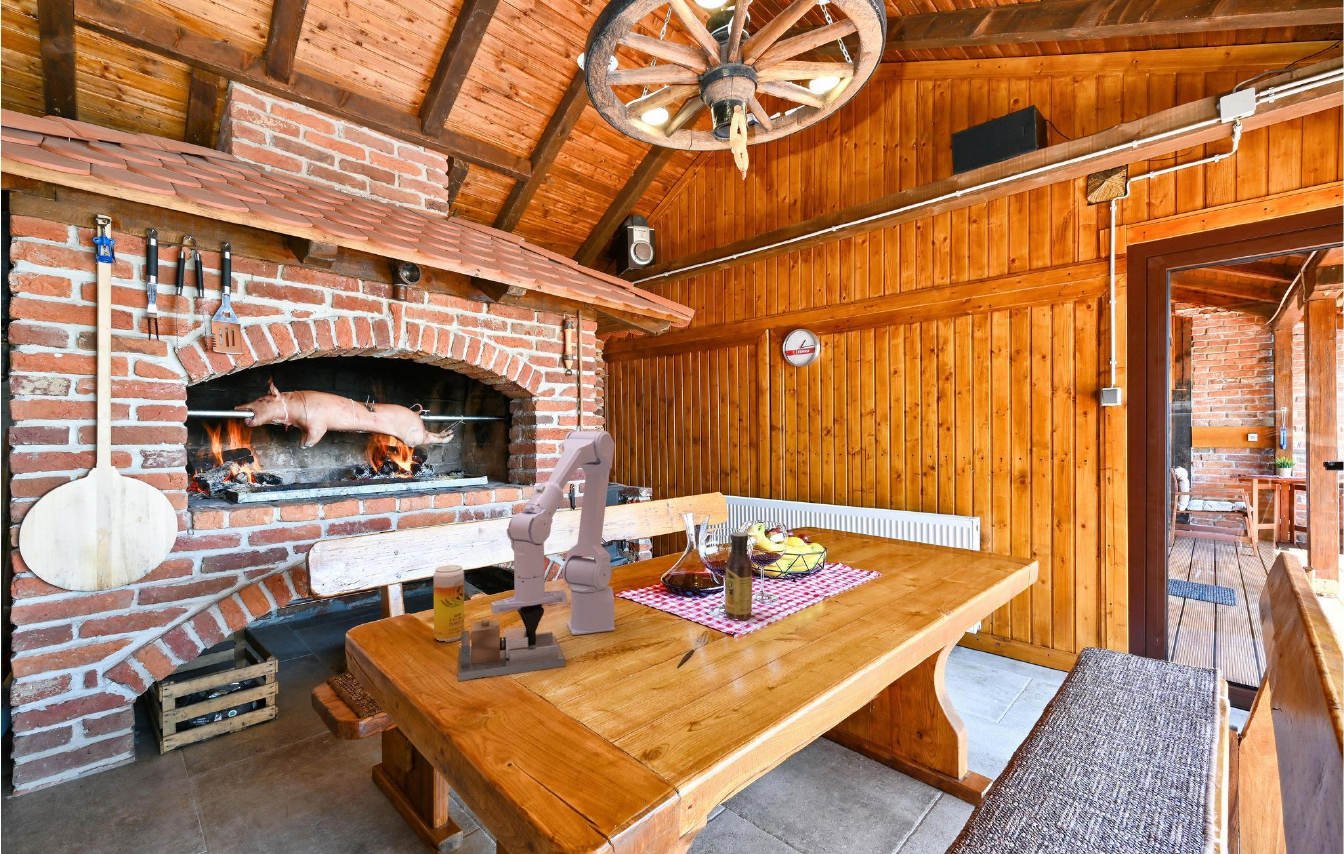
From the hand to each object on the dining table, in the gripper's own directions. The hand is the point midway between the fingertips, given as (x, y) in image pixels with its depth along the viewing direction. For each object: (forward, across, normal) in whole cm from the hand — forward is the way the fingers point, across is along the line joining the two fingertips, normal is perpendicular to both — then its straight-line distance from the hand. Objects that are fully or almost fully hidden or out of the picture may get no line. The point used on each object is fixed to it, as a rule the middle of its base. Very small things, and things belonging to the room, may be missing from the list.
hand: (530, 643), depth 116 cm
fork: (+4, -28, +14) cm, 32 cm away
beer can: (+3, +11, -20) cm, 23 cm away
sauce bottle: (+3, -49, +3) cm, 50 cm away
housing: (+1, +8, -2) cm, 9 cm away
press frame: (+3, +4, -1) cm, 5 cm away
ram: (+1, +3, -1) cm, 3 cm away
